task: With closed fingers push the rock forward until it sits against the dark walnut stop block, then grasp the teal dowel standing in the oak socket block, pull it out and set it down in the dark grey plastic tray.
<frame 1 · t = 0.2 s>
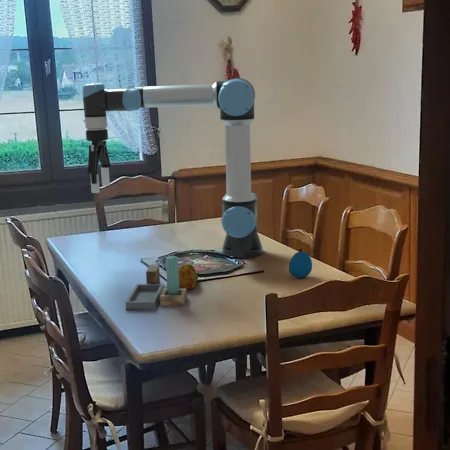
hand: (101, 189, 246), 28 cm above the table, fingers open, 13 cm apart
rock: (186, 286, 226), on the table
socket block: (173, 301, 212), on the table
ornament: (300, 278, 231), on the table
stop block: (153, 285, 227), on the table
dowel: (172, 279, 210), in the socket block
tray: (145, 300, 214), on the table
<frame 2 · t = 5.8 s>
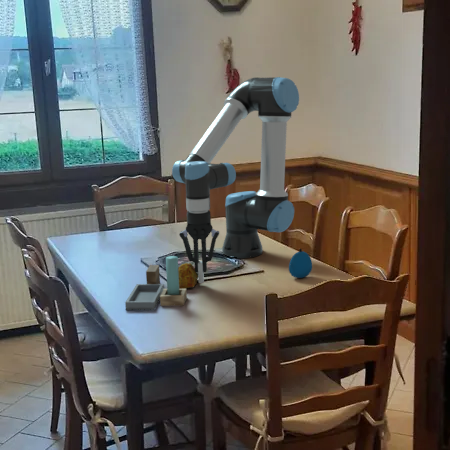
hand: (201, 281, 225), 1 cm above the table, fingers closed
rock: (186, 285, 227), on the table, touching gripper
everything else where it was.
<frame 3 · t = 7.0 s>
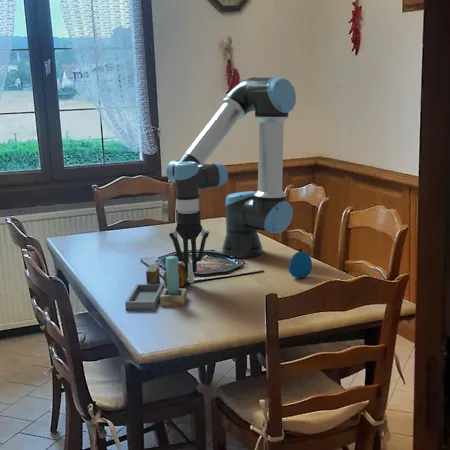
hand: (191, 281, 226), 1 cm above the table, fingers closed
rock: (177, 285, 228), on the table
everything else where it was.
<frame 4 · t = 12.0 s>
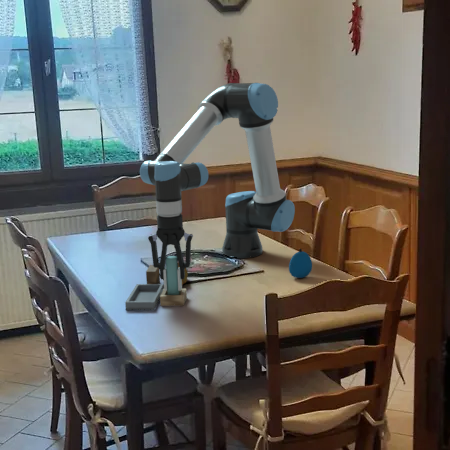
hand: (173, 288, 211), 4 cm above the table, fingers closed on dowel, 3 cm apart
dowel: (172, 279, 210), in the socket block, touching gripper
everything else where it was.
when the fingers open (6 cm above the table, at t = 16.6 s): dowel drops 1 cm, resting on tray.
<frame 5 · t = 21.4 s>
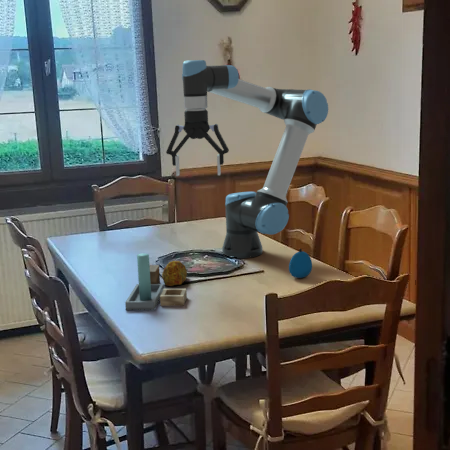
hand: (198, 175, 227), 35 cm above the table, fingers open, 13 cm apart
rock: (175, 283, 230), on the table
dowel: (144, 277, 212), in the tray, point 8 cm above the table
everything else where it was.
at the end: rock inside the target area (4.1 cm from its centre), on the table; dowel inside the target area on the tray (0.1 cm from its centre), point 7.6 cm above the tray's base; the gripper is holding nothing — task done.
